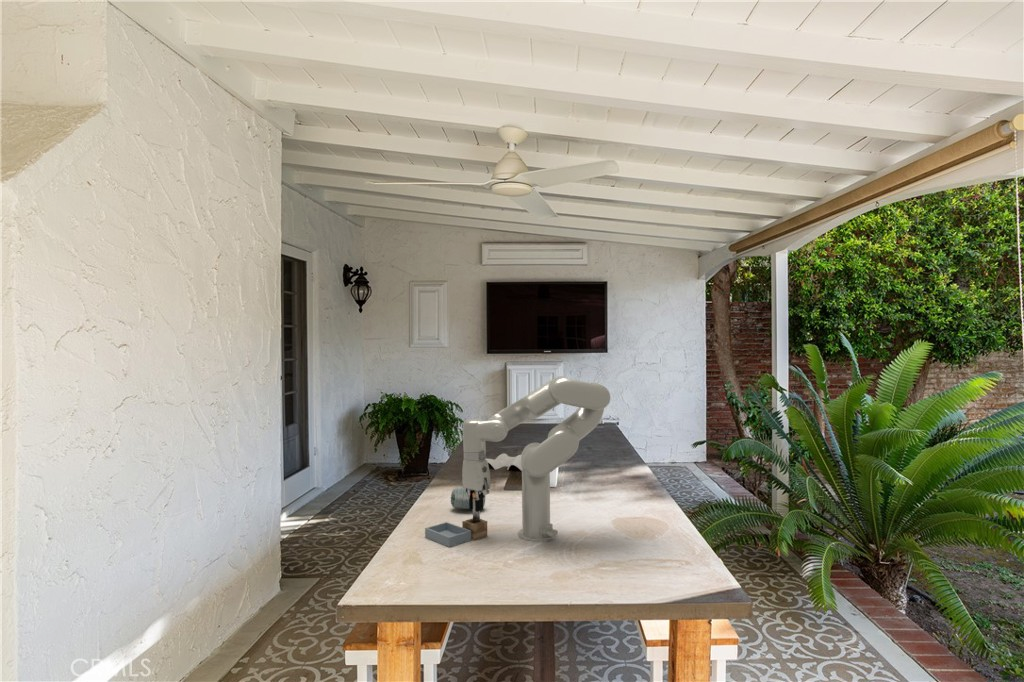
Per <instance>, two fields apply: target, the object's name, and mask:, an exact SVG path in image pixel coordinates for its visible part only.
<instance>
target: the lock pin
mask: <svg viewBox="0 0 1024 682" xmlns="http://www.w3.org/2000/svg"><path fill="white" fill-rule="evenodd" d="M472 499H473V510H472V518H473V523H477V522H480V519H481V511H479V512H476V511H475V500H476V492H472Z"/></svg>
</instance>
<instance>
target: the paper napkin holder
mask: <svg viewBox="0 0 1024 682" xmlns="http://www.w3.org/2000/svg"><path fill="white" fill-rule="evenodd" d="M521 456H522V453H521V454H518V455H516V456H509V455H508V454H507V453H501V454H499V455H498V456H497V457H495V459H493V458H487V457H486V460H487V461H488V464H490V465H491V467H492V468H493V469H494V470H498V469H501V468H503V467H507V468H506V469H507V470H509V469H510V468H511V466H515V467H516V468H518V469H519V470H520V471H521V472H522V465H521Z"/></svg>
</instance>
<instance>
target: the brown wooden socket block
mask: <svg viewBox="0 0 1024 682" xmlns="http://www.w3.org/2000/svg"><path fill="white" fill-rule="evenodd" d="M461 524H462V526H461V527H462V528H465V529H468V530H471V541H472V540H473V541H476V540H480V539H482V538H486V537H488V520H485V519H482V518H480V522H477V523H473V517H471V518H469V519H466V520H462V522H461Z"/></svg>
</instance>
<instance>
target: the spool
mask: <svg viewBox="0 0 1024 682" xmlns="http://www.w3.org/2000/svg"><path fill="white" fill-rule="evenodd" d="M480 493H481V492H479V494H480ZM486 496H487V495H485V498H484V499H483V508H484V507H485V504H486ZM450 504H451V507H452V508H454V509H463V510H469V498H468V494H467V492H466V491H465V490H464V489H463V486H462V487H459V486H458V487H455V488H453V489H452V492H451V494H450Z"/></svg>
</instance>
